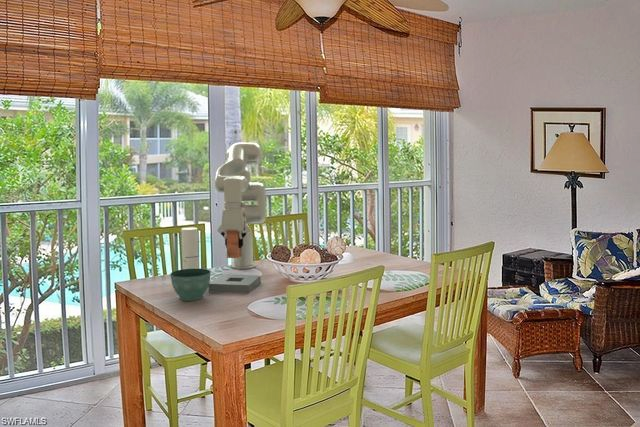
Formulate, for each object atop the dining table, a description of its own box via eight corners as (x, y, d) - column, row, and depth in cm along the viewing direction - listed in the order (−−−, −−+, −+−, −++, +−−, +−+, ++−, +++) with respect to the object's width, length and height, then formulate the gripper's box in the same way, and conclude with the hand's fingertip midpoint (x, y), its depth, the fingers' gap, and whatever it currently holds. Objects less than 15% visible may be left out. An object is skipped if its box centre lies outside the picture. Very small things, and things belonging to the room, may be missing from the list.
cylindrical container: (195, 285, 273) (193, 230, 270) (180, 284, 274) (178, 229, 271) (201, 281, 280) (200, 227, 277) (187, 281, 281) (185, 227, 278)
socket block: (222, 281, 280) (222, 274, 279) (260, 283, 277) (260, 275, 276) (208, 291, 262) (208, 283, 262) (249, 293, 259) (248, 285, 259)
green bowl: (163, 299, 251) (162, 273, 250) (194, 291, 263) (193, 266, 262) (187, 305, 241) (186, 278, 239) (219, 297, 253) (218, 271, 252)
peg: (230, 255, 270) (230, 228, 269) (241, 256, 269) (241, 229, 268) (227, 257, 265) (226, 230, 264) (238, 258, 265) (237, 230, 263)
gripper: (254, 205, 267) (255, 246, 269) (217, 204, 270) (218, 245, 272) (249, 207, 259) (250, 249, 262) (211, 206, 262) (212, 248, 265)
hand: (234, 246), depth 267 cm, fingers closed on peg, 5 cm apart
